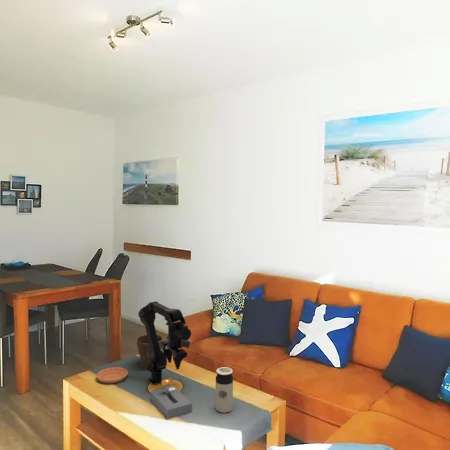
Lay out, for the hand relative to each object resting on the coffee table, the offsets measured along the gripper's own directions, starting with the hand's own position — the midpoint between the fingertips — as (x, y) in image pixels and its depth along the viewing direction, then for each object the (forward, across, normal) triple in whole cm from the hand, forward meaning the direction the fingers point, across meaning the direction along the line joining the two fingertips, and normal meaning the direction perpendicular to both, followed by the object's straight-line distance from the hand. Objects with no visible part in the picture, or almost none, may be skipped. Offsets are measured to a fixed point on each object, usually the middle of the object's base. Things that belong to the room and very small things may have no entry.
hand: (173, 365), depth 198 cm
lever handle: (+12, -8, +7) cm, 16 cm away
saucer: (+13, +30, +22) cm, 40 cm away
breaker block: (+13, -12, +7) cm, 19 cm away
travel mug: (+13, -27, -13) cm, 33 cm away
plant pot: (+13, +35, -1) cm, 37 cm away
